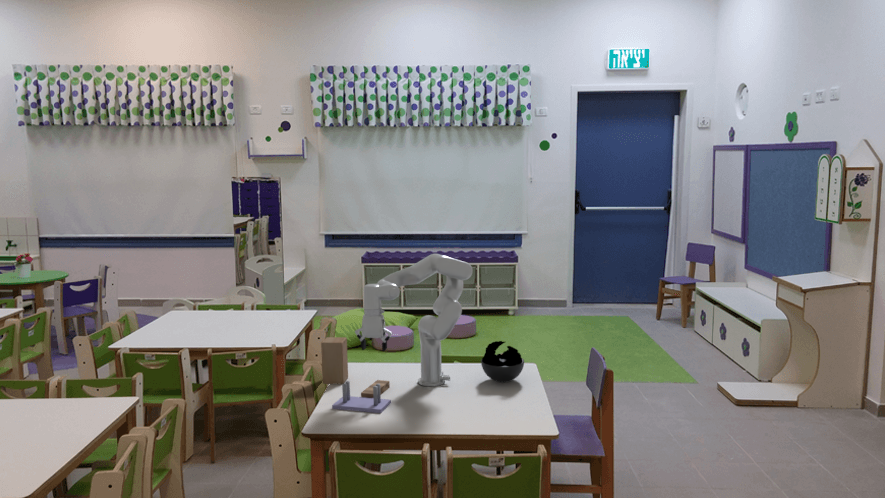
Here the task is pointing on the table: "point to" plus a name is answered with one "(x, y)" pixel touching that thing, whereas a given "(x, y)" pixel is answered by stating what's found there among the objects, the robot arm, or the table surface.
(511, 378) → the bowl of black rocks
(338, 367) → the wooden block
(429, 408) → the table surface
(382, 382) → the shelf board
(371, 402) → the peg stand
